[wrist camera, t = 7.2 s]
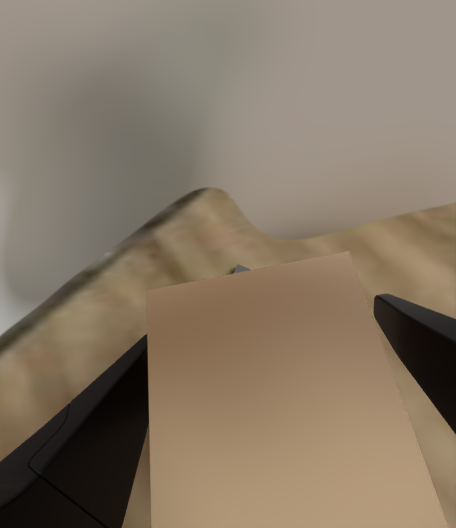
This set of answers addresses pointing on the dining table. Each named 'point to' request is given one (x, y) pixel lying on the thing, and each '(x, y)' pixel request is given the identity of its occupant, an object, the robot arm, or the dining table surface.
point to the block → (279, 406)
